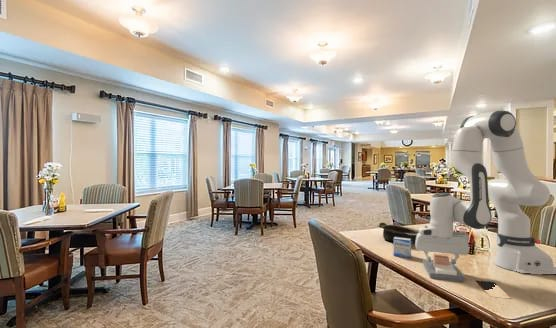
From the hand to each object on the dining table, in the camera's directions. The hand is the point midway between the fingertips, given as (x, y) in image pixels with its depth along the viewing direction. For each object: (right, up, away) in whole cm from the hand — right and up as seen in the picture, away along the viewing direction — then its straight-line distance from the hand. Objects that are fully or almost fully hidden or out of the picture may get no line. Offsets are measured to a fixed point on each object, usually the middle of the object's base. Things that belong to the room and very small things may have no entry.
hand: (441, 262), depth 123 cm
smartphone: (+9, -4, -18) cm, 20 cm away
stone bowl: (+2, -3, +46) cm, 46 cm away
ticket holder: (-1, -3, -2) cm, 4 cm away
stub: (0, -1, 0) cm, 1 cm away
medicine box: (-9, -3, +19) cm, 21 cm away
